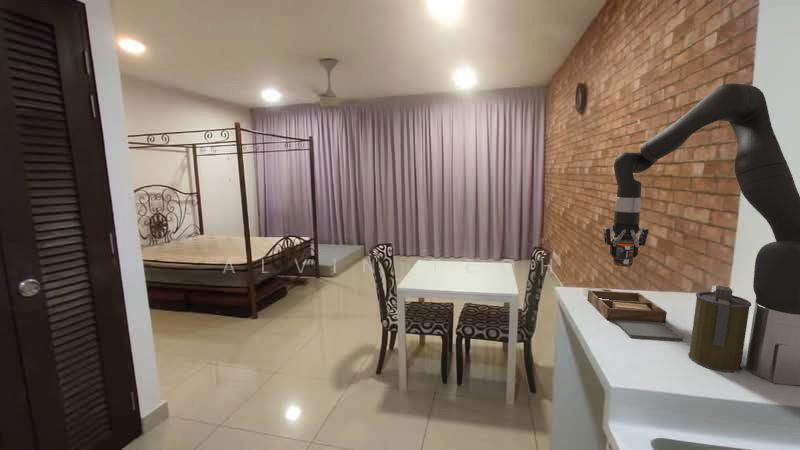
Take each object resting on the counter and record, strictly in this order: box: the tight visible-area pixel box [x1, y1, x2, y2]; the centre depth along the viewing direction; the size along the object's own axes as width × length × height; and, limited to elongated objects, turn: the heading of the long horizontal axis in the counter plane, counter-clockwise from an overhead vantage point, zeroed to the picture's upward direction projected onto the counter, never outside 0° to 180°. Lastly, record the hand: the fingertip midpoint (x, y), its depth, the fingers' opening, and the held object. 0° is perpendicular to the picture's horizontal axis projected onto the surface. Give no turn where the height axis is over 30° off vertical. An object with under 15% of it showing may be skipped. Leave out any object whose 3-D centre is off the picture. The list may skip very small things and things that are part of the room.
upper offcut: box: [612, 302, 651, 310], centre depth 119 cm, size 5×10×2 cm, turn 73°
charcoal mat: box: [614, 320, 683, 342], centre depth 109 cm, size 11×14×1 cm
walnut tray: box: [587, 290, 668, 325], centre depth 124 cm, size 18×18×4 cm
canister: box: [687, 285, 752, 373], centre depth 90 cm, size 11×10×20 cm
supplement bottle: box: [612, 235, 634, 268], centre depth 125 cm, size 6×6×11 cm
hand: (623, 256), depth 125 cm, fingers closed on supplement bottle, 6 cm apart
